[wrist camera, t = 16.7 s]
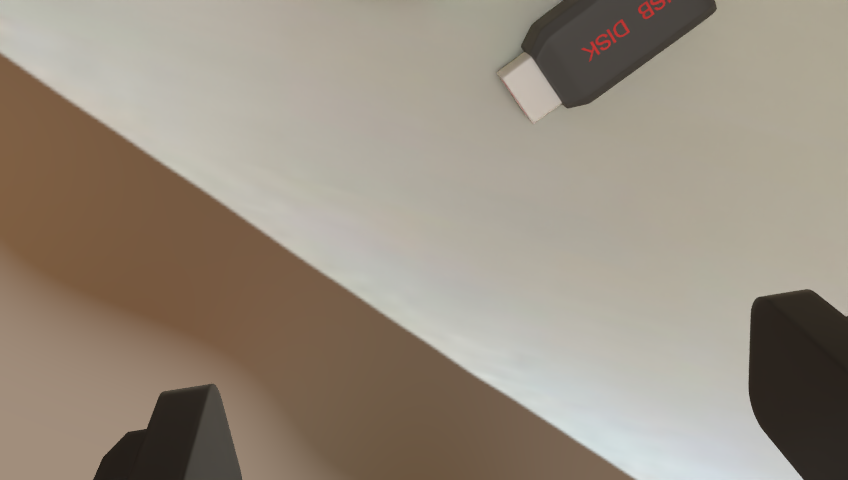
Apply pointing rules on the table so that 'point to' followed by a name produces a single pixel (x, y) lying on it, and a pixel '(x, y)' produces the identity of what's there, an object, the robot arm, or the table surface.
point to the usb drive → (593, 48)
